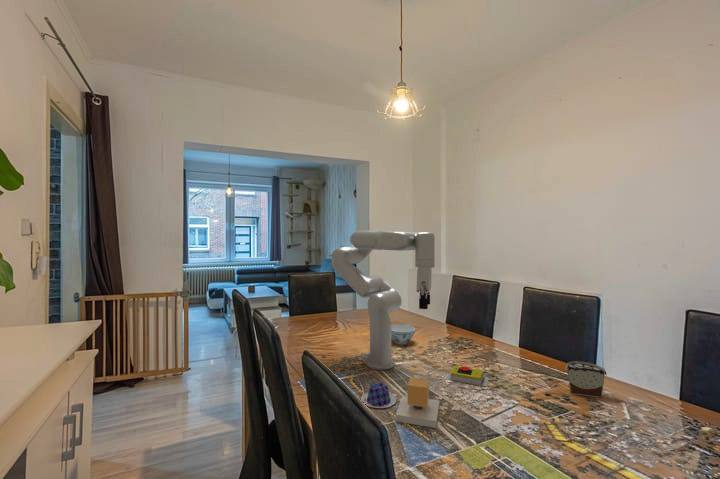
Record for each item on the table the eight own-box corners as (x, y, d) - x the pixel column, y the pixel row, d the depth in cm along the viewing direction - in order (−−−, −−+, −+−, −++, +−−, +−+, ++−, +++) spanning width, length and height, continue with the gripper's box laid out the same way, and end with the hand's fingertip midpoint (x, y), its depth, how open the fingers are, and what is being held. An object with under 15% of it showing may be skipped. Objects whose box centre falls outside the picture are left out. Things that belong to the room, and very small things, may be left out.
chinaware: (381, 340, 179) (381, 326, 179) (405, 337, 185) (405, 323, 185) (396, 348, 165) (396, 333, 165) (420, 344, 172) (420, 329, 172)
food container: (600, 390, 119) (600, 363, 119) (606, 398, 113) (606, 369, 113) (561, 385, 123) (561, 359, 123) (565, 392, 117) (565, 365, 117)
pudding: (382, 390, 120) (382, 375, 120) (403, 404, 110) (403, 388, 110) (354, 398, 114) (354, 383, 114) (373, 414, 103) (373, 397, 103)
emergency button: (450, 361, 137) (489, 367, 130) (450, 372, 137) (489, 378, 130) (446, 369, 129) (486, 376, 122) (446, 380, 129) (486, 388, 122)
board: (395, 421, 99) (395, 391, 99) (402, 401, 111) (402, 374, 111) (436, 428, 95) (436, 397, 95) (439, 406, 108) (439, 379, 108)
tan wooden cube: (407, 404, 101) (407, 385, 101) (410, 395, 107) (410, 377, 107) (427, 407, 99) (427, 387, 99) (429, 398, 105) (429, 379, 105)
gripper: (418, 261, 140) (418, 302, 140) (412, 264, 123) (412, 310, 123) (436, 262, 137) (436, 303, 137) (432, 265, 121) (432, 311, 121)
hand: (424, 306), depth 130 cm, fingers open, 9 cm apart
